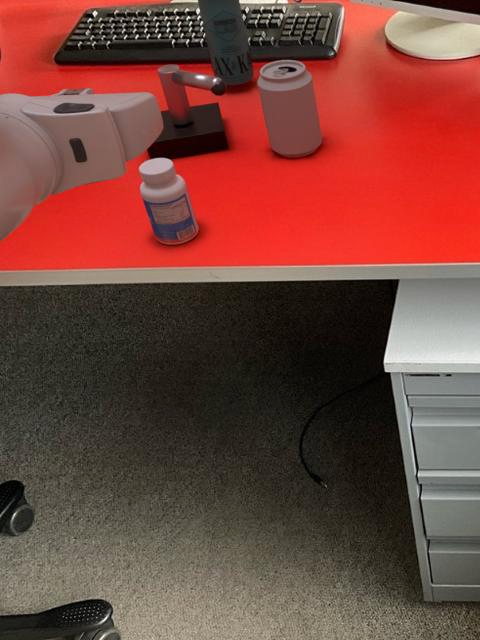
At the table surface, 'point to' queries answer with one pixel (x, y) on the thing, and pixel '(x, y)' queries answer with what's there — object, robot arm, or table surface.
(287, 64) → the can
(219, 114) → the tap base
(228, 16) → the beverage bottle
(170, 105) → the spout
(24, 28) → the table surface
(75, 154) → the robot arm
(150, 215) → the pill bottle
